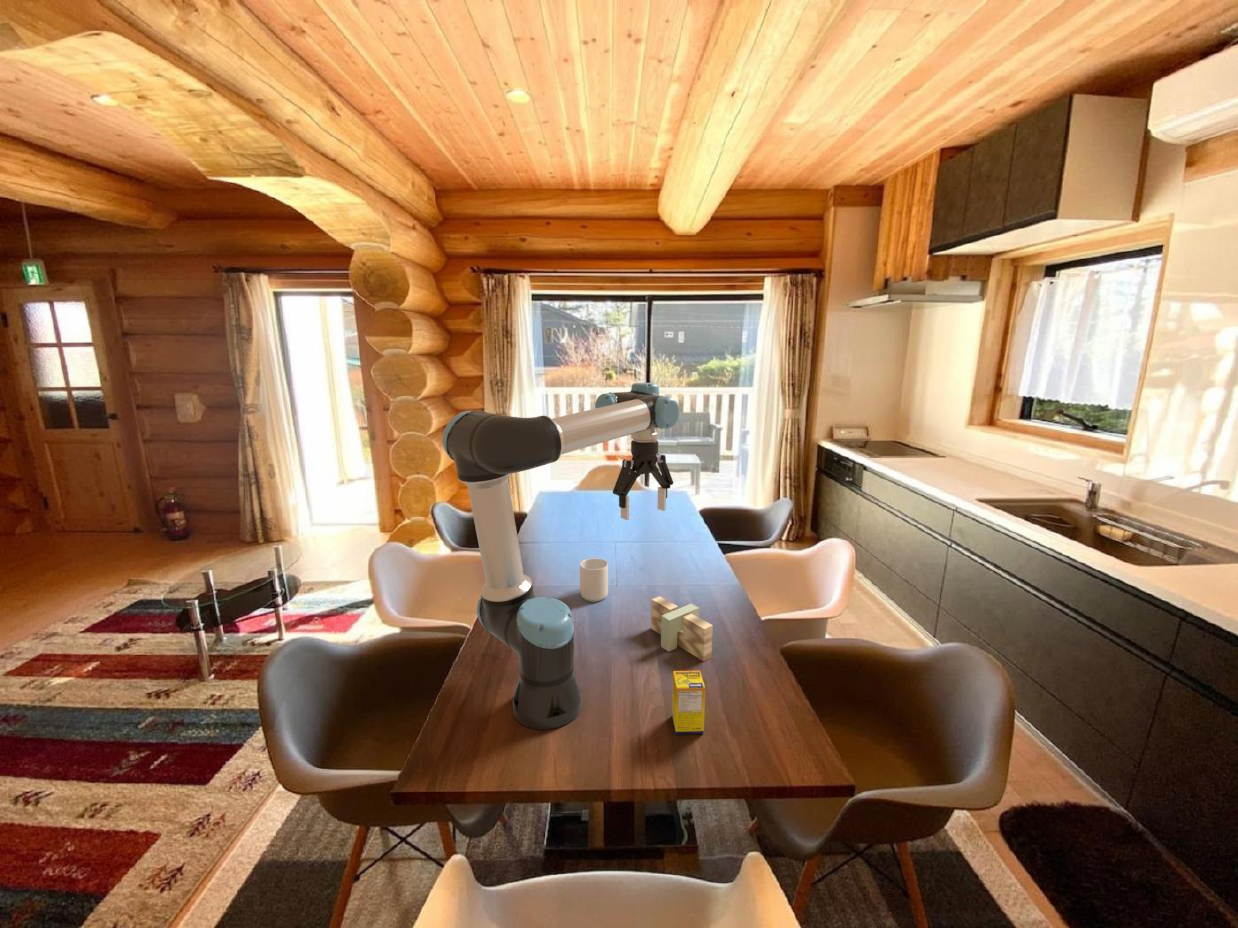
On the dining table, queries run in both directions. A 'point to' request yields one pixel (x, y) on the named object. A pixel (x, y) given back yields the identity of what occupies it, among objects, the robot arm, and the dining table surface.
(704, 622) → the birch board
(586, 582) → the mug
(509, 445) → the robot arm
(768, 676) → the dining table surface
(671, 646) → the sage plate
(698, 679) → the supplement box
